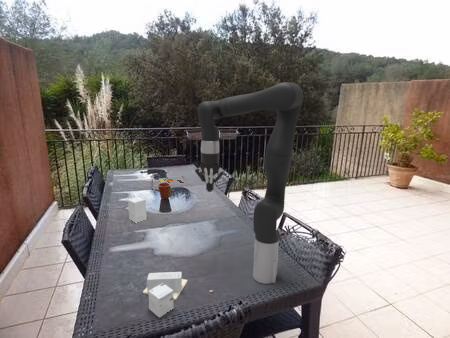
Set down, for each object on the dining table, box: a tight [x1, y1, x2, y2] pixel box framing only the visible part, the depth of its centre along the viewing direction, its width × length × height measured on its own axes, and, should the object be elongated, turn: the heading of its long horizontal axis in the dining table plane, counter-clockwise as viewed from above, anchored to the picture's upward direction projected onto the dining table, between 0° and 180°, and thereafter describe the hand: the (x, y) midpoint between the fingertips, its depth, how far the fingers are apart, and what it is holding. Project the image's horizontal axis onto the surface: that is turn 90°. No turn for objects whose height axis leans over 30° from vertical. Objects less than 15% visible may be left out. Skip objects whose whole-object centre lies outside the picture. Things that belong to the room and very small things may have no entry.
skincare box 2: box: [147, 283, 174, 318], centre depth 96 cm, size 6×6×7 cm
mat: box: [142, 278, 189, 301], centre depth 108 cm, size 13×11×1 cm
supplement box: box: [127, 196, 148, 224], centre depth 163 cm, size 7×7×13 cm
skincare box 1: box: [146, 271, 183, 293], centre depth 105 cm, size 6×4×12 cm
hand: (209, 191), depth 121 cm, fingers closed
